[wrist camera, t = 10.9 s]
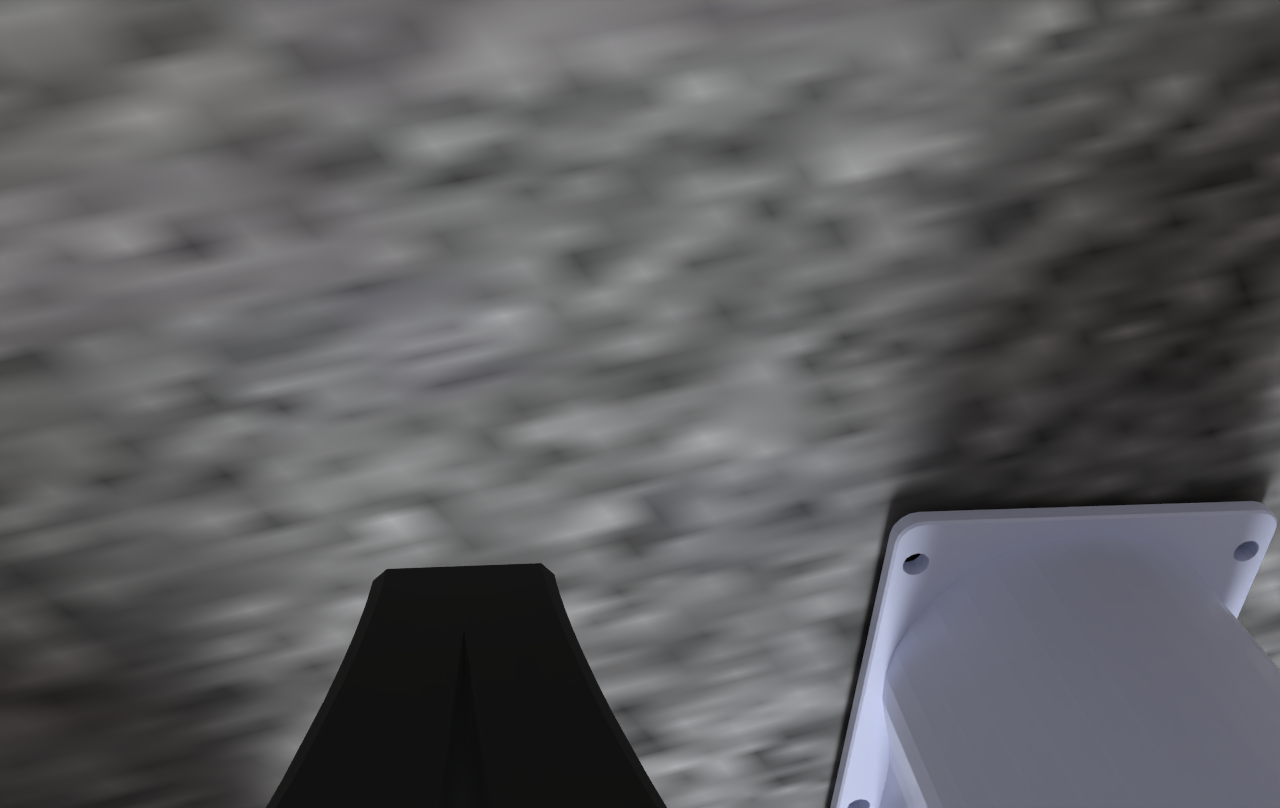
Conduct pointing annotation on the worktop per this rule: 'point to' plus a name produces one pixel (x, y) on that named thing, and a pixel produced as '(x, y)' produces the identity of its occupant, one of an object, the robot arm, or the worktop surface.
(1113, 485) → the worktop surface
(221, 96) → the worktop surface
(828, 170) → the worktop surface
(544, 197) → the worktop surface
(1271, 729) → the robot arm
